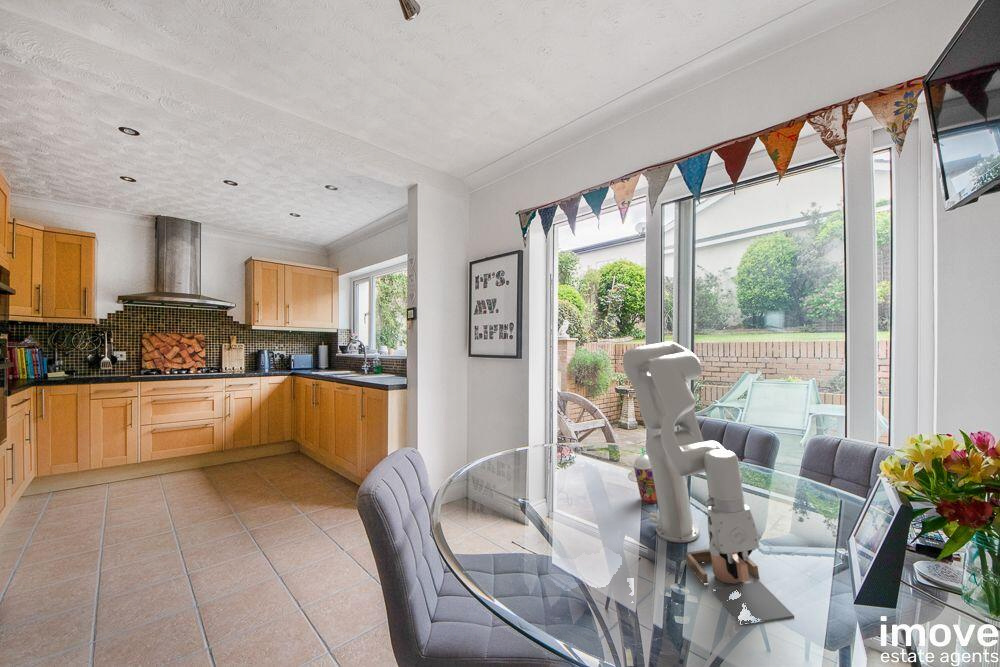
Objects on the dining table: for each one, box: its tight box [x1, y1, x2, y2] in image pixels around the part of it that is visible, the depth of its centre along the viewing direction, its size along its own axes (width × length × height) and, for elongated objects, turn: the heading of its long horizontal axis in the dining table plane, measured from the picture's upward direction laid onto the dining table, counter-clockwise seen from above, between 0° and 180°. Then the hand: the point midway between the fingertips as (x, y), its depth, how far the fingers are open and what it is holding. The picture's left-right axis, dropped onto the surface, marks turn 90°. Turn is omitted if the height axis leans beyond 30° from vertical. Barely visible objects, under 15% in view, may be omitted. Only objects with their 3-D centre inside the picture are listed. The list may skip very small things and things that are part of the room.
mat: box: [713, 581, 795, 624], centre depth 97 cm, size 12×12×1 cm
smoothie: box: [632, 447, 657, 504], centre depth 155 cm, size 8×8×20 cm
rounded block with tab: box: [708, 540, 750, 584], centre depth 104 cm, size 12×7×8 cm, turn 0°
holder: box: [685, 548, 760, 584], centre depth 110 cm, size 10×14×3 cm
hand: (738, 574), depth 102 cm, fingers closed on rounded block with tab, 1 cm apart
